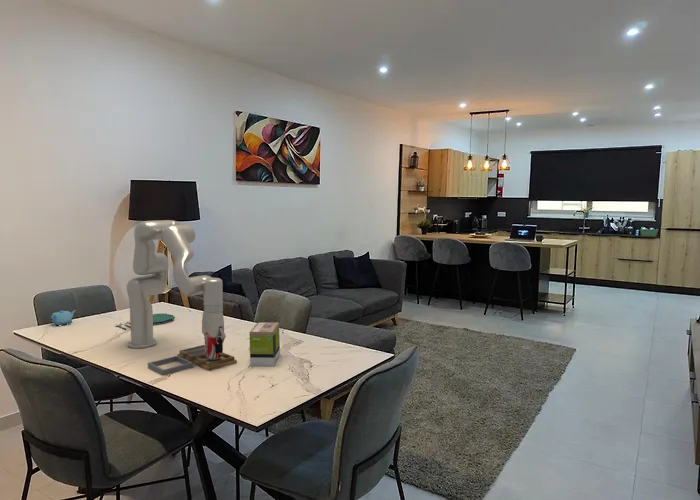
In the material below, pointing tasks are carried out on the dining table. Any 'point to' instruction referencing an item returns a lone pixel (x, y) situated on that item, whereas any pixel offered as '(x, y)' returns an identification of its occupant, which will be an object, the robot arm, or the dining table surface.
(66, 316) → the teapot
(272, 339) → the tea box
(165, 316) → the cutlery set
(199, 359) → the two-pane wooden frame
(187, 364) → the holder frame
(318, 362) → the dining table surface
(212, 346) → the soda can
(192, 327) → the dining table surface
